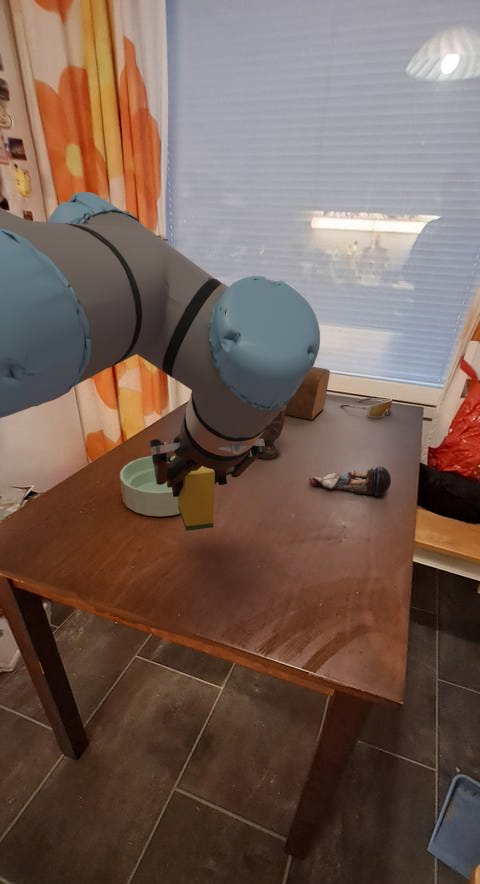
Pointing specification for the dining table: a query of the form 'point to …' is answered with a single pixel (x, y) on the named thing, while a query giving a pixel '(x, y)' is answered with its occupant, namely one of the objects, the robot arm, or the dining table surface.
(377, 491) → the figurine
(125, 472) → the bowl
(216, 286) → the robot arm
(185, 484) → the sponge
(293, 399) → the bread
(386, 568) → the dining table surface
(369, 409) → the sunglasses
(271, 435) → the mortar and pestle
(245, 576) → the dining table surface
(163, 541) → the dining table surface
